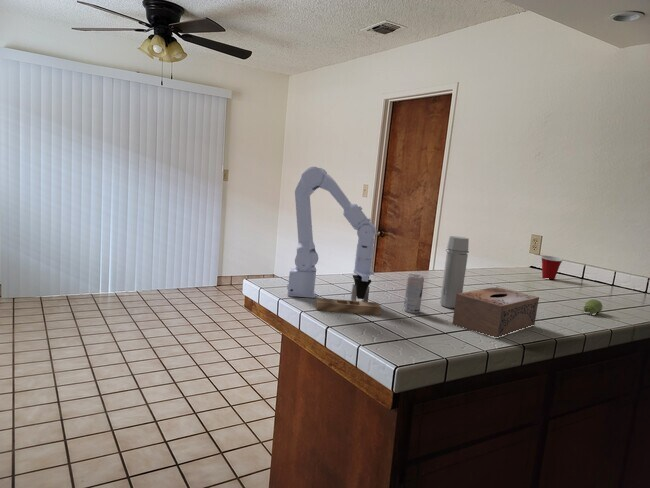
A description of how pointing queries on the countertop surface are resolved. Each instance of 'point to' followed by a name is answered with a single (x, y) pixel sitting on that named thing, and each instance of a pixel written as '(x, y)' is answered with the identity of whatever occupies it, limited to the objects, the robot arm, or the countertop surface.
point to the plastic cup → (550, 266)
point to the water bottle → (454, 270)
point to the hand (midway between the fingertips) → (359, 297)
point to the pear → (593, 306)
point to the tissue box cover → (495, 311)
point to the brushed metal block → (354, 294)
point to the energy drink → (413, 293)
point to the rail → (348, 306)
